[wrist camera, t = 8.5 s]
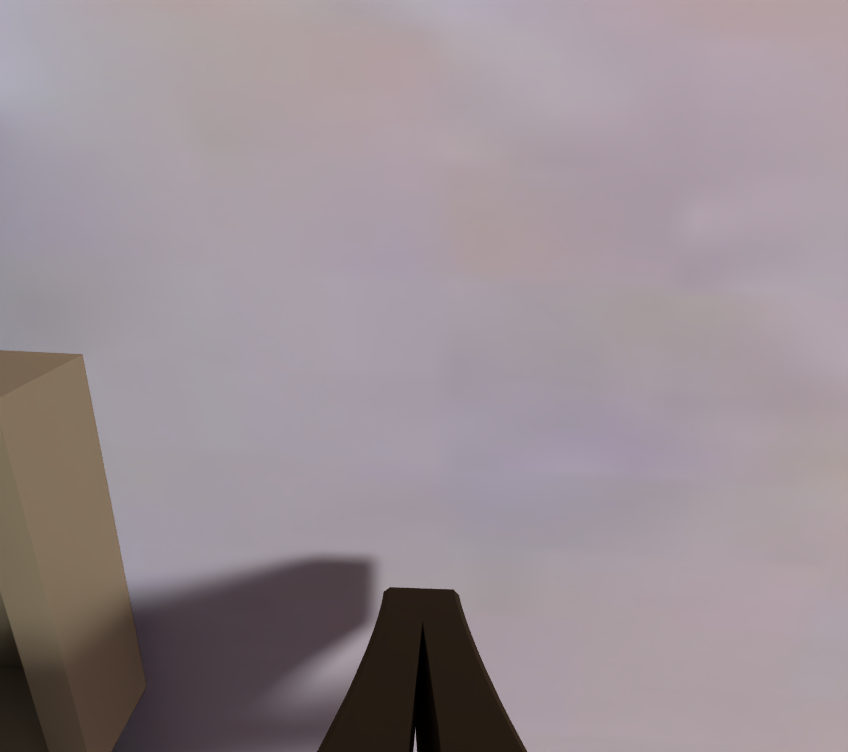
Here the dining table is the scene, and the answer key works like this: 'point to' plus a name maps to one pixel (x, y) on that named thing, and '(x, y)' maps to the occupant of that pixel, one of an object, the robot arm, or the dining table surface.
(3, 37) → the dining table surface
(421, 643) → the robot arm
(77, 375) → the tray
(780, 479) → the dining table surface
